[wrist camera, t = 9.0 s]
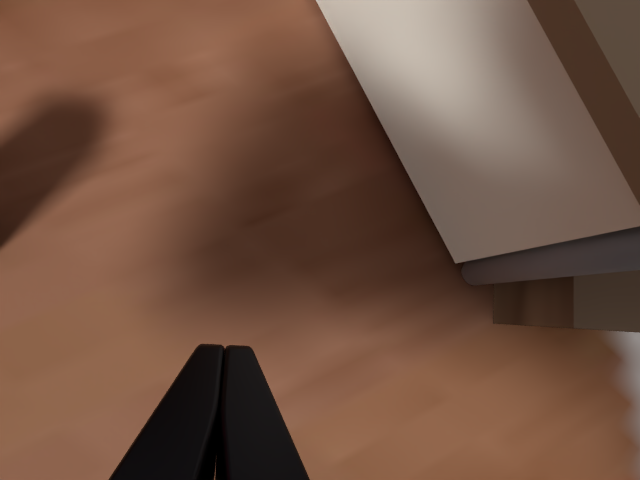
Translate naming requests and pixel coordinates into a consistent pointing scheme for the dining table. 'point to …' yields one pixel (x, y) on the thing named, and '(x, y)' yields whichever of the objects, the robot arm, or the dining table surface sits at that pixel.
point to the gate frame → (572, 302)
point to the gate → (510, 125)
